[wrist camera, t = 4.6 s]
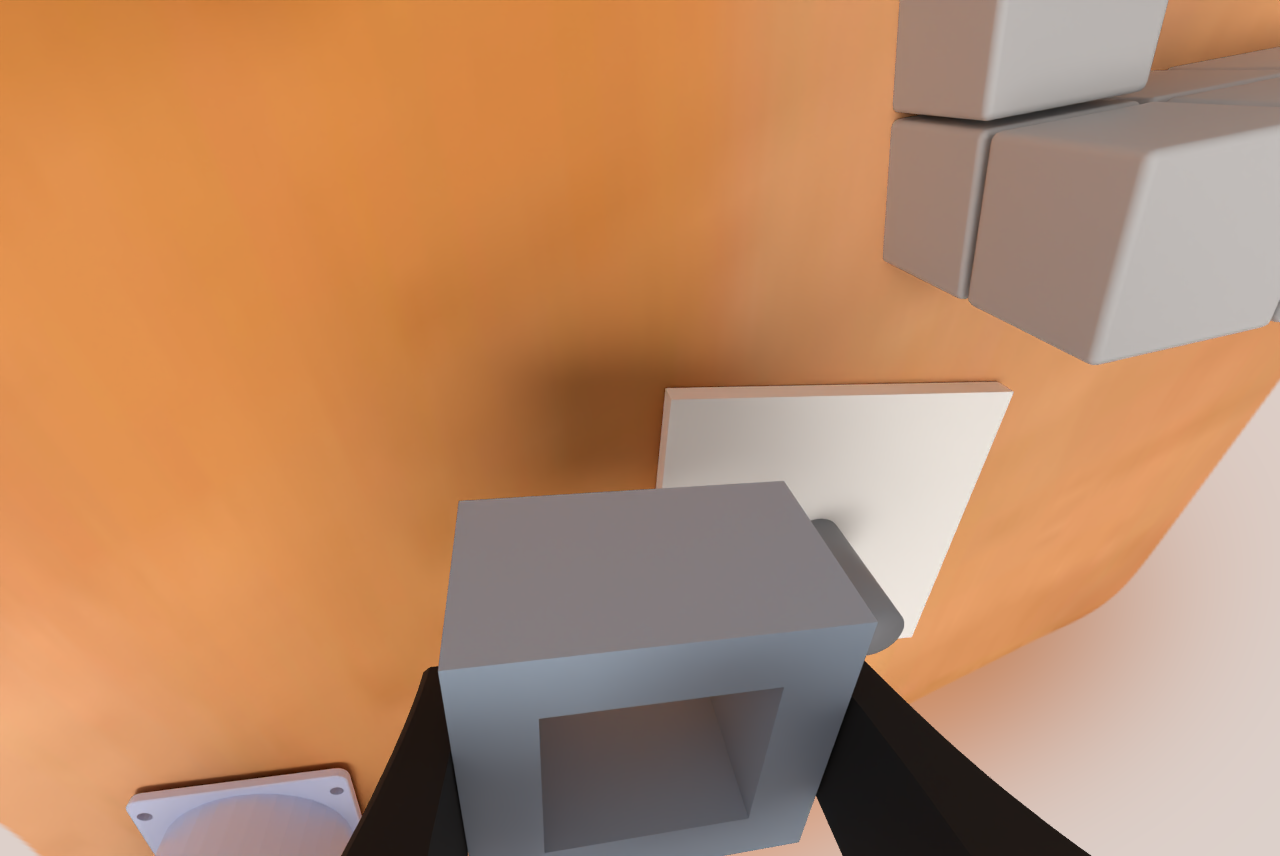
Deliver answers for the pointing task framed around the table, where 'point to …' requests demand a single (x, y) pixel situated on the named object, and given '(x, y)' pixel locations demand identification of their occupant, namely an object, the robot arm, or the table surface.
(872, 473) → the post plate
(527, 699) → the grey square ring
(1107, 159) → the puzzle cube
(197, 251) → the table surface
